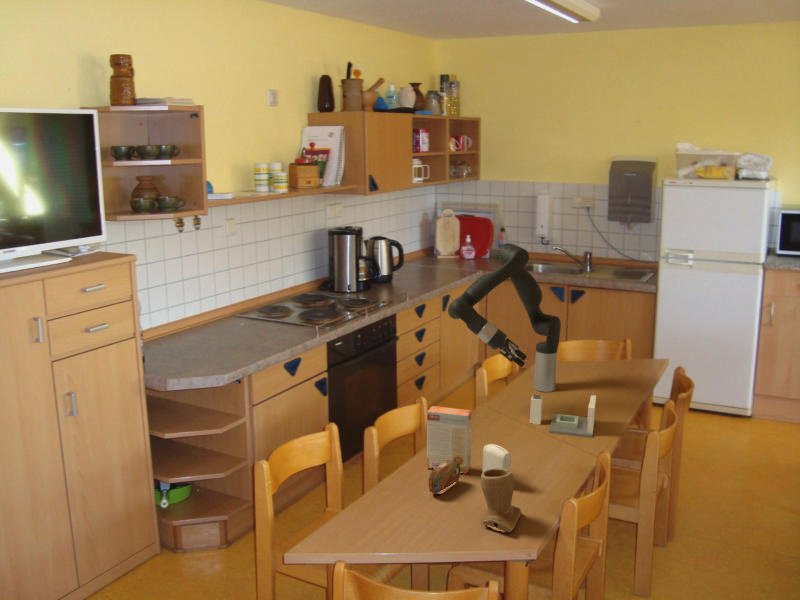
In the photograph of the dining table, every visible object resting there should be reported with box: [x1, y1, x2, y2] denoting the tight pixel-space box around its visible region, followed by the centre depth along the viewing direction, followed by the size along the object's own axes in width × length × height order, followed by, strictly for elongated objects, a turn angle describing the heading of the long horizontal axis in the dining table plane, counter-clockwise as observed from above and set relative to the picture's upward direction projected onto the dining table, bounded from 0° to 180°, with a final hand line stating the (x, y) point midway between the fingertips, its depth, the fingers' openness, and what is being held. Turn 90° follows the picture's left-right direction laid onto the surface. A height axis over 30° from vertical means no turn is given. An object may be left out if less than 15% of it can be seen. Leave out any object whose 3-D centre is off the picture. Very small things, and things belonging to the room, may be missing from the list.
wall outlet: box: [548, 394, 597, 438], centre depth 298 cm, size 18×16×11 cm
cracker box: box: [426, 405, 473, 474], centre depth 260 cm, size 14×6×21 cm, turn 71°
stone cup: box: [480, 468, 522, 533], centre depth 227 cm, size 15×12×15 cm
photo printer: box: [482, 443, 512, 473], centre depth 252 cm, size 10×4×12 cm, turn 39°
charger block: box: [529, 394, 543, 425], centre depth 302 cm, size 4×4×11 cm
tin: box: [428, 460, 461, 495], centre depth 247 cm, size 15×3×8 cm, turn 143°
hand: (524, 361), depth 300 cm, fingers open, 8 cm apart
